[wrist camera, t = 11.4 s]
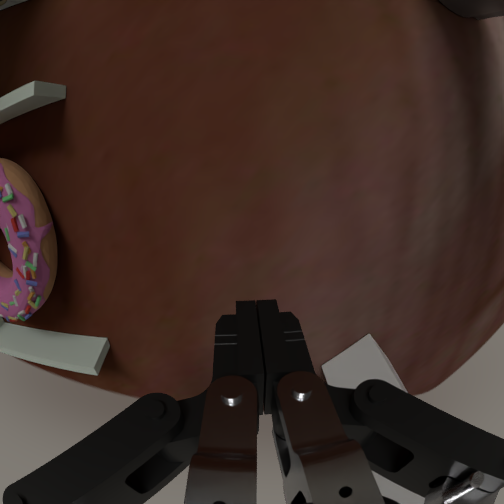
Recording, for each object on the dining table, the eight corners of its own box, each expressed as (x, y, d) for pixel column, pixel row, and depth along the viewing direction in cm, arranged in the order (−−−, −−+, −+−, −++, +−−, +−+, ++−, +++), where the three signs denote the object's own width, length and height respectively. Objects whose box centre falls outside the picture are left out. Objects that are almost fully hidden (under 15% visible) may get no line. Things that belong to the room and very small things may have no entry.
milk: (368, 331, 24) (468, 525, 4) (387, 357, 26) (468, 514, 6) (319, 365, 25) (383, 563, 5) (344, 386, 28) (403, 547, 8)
